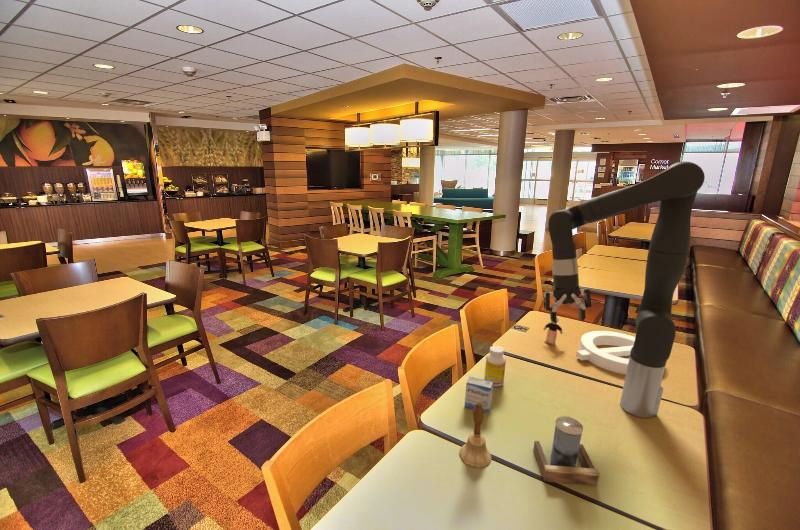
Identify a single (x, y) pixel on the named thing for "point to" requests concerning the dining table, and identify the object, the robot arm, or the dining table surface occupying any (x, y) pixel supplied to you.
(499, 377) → the supplement bottle
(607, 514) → the dining table surface
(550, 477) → the wooden u-shaped bracket
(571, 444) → the tin
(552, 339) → the grandmother figurine
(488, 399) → the medicine box
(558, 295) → the robot arm
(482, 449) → the hand bell
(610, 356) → the ring with crossbar
